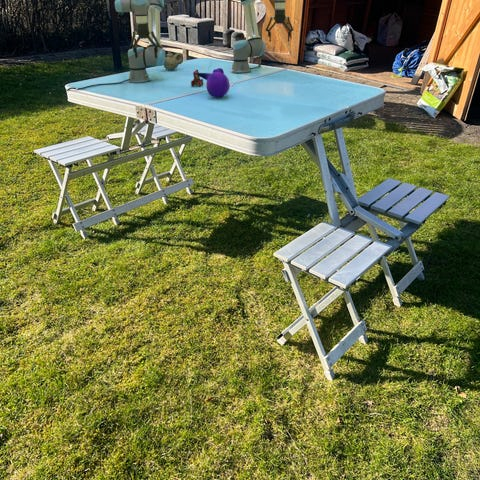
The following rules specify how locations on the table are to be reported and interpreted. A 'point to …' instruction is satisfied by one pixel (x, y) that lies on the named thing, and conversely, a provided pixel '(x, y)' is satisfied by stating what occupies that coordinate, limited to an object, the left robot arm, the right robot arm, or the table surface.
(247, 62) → the right robot arm
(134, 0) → the left robot arm
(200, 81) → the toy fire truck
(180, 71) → the table surface
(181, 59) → the teapot
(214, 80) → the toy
